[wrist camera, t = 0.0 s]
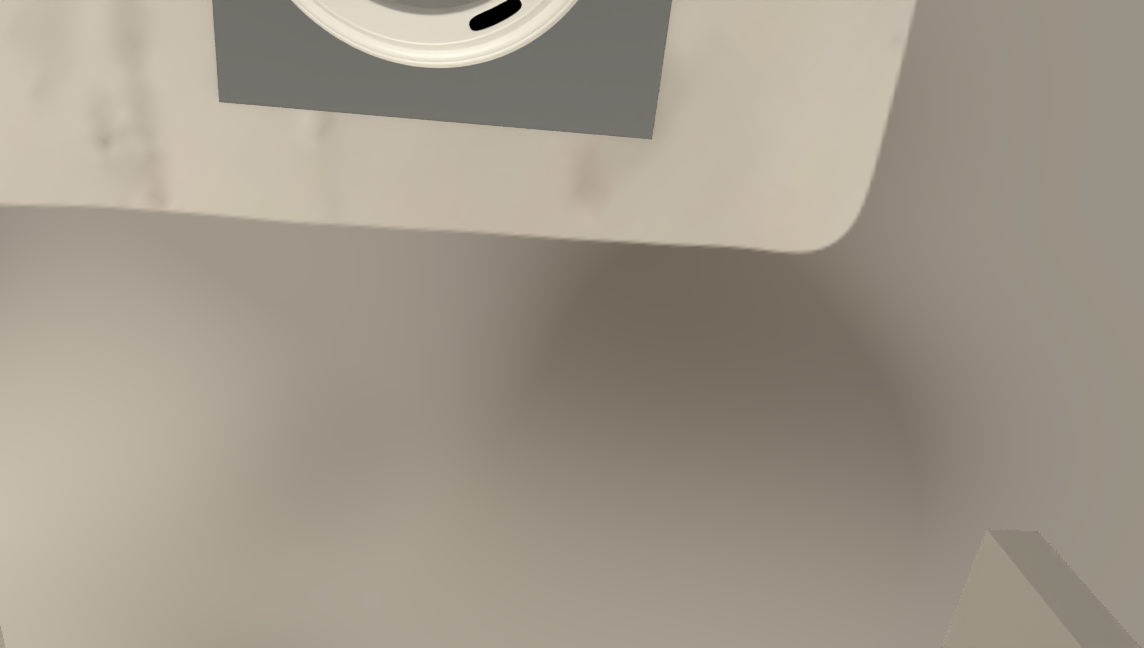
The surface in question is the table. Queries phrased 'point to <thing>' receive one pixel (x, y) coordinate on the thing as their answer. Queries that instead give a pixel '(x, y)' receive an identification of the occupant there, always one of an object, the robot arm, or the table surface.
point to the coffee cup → (436, 27)
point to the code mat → (455, 71)
